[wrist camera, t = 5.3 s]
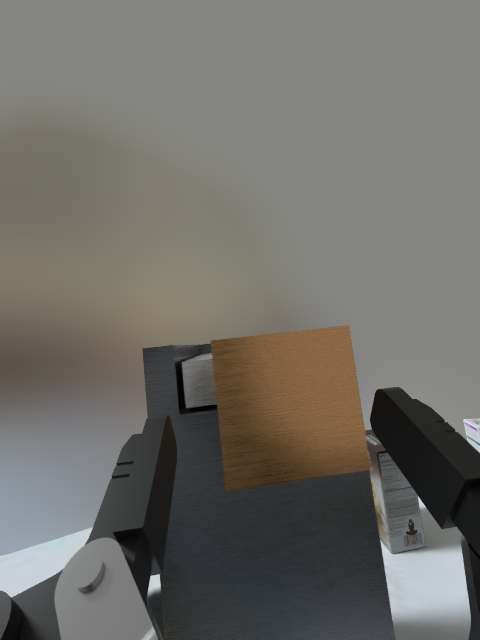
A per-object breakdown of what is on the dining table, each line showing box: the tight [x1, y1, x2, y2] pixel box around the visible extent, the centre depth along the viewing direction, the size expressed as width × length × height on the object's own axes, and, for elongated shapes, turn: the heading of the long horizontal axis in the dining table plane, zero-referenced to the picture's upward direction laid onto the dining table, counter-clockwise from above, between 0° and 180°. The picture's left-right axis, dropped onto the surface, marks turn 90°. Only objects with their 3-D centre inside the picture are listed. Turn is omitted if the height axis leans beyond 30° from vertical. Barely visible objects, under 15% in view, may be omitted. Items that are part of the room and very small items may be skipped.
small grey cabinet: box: [143, 344, 395, 640], centre depth 24 cm, size 18×16×36 cm
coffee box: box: [365, 430, 425, 553], centre depth 46 cm, size 9×6×16 cm
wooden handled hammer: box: [182, 325, 371, 492], centre depth 20 cm, size 26×9×4 cm, turn 3°
